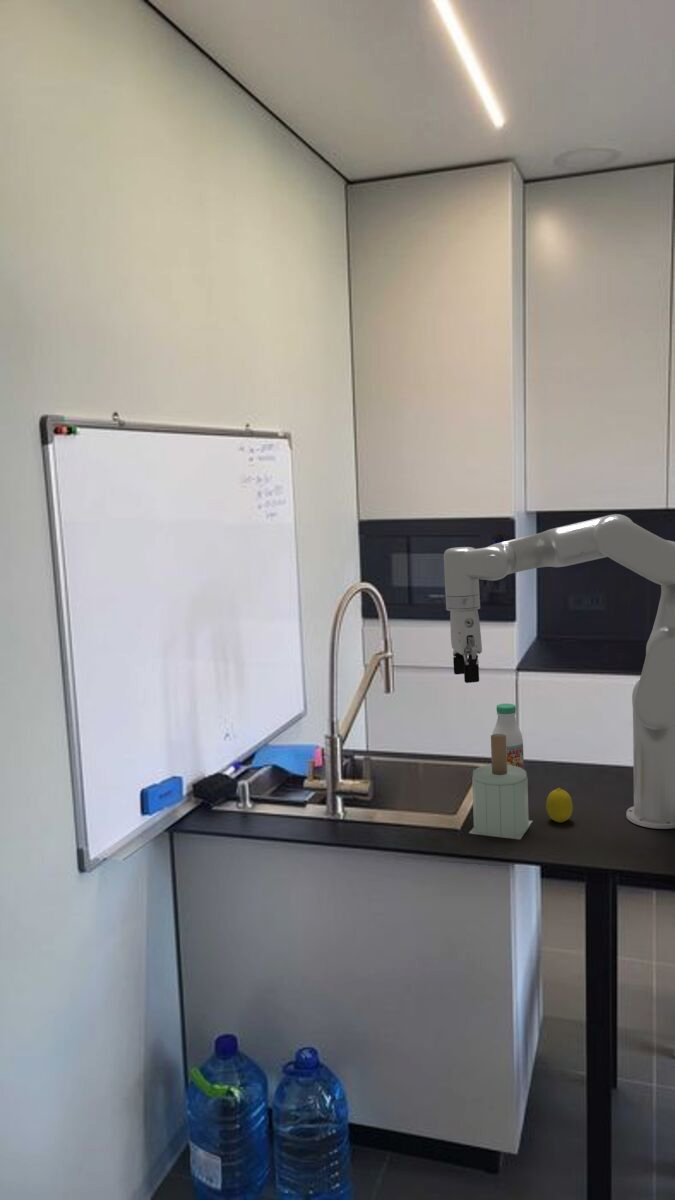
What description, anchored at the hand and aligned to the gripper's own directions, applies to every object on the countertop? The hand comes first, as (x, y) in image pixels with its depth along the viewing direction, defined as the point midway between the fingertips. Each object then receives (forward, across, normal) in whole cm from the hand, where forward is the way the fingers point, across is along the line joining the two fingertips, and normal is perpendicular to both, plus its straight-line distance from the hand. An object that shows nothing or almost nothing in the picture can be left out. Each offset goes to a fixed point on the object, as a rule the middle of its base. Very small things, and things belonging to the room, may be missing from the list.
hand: (466, 677), depth 205 cm
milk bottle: (+31, +14, -13) cm, 36 cm away
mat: (+31, -14, -3) cm, 34 cm away
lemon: (+31, -14, -16) cm, 37 cm away
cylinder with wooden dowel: (+30, -14, -3) cm, 33 cm away
